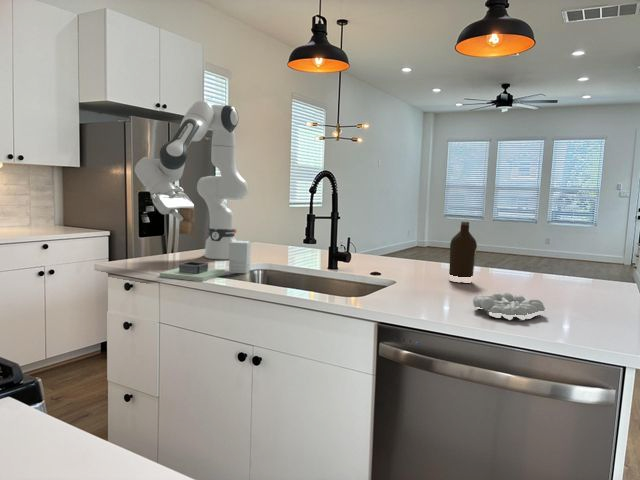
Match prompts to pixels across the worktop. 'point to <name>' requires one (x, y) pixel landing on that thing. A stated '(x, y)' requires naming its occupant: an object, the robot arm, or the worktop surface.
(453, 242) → the olive oil
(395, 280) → the worktop surface
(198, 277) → the jar plate
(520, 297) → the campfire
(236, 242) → the supplement box
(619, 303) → the worktop surface
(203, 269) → the dark grey square tray
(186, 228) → the brown wooden block
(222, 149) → the robot arm
